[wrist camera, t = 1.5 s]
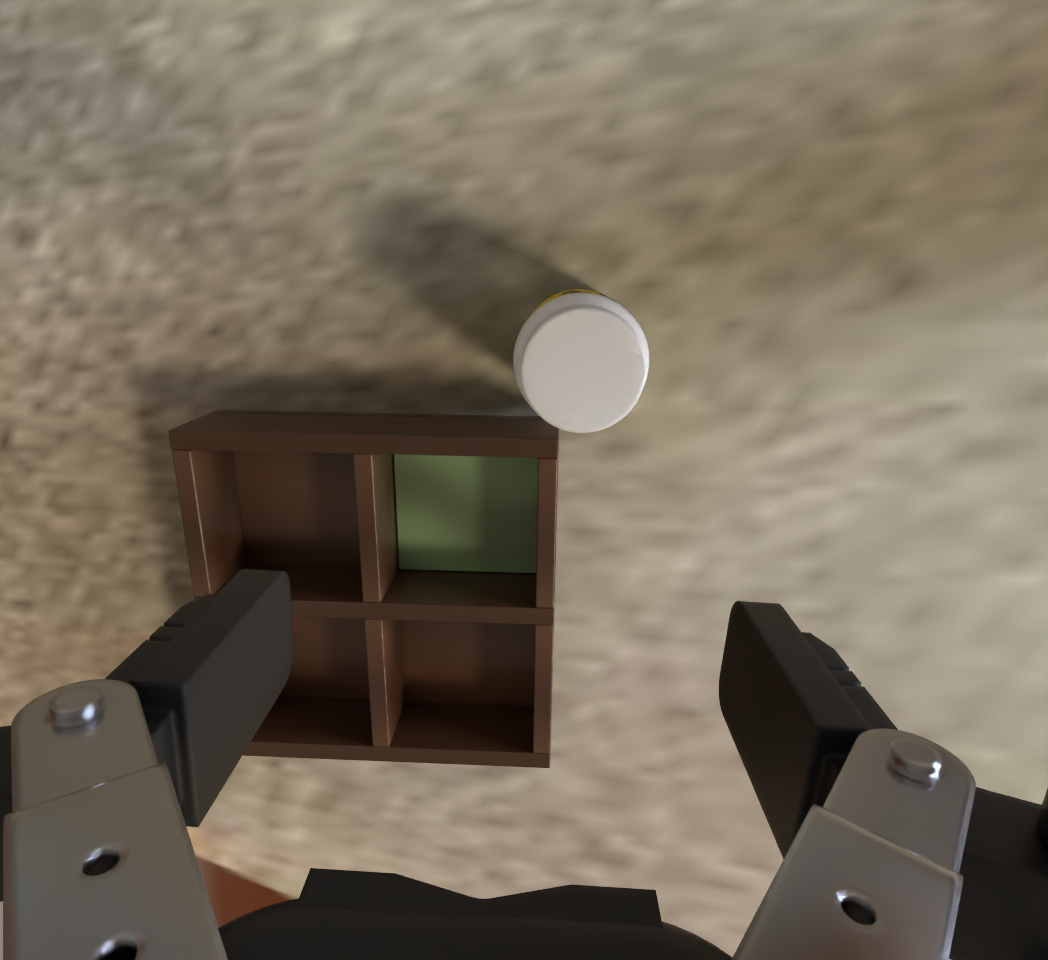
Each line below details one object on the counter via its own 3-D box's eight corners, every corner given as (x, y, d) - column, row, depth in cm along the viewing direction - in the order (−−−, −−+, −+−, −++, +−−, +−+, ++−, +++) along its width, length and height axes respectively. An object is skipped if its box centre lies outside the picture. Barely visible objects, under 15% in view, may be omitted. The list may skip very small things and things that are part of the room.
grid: (217, 409, 31) (167, 430, 27) (558, 416, 30) (558, 438, 26) (254, 701, 35) (217, 754, 32) (550, 712, 35) (549, 768, 31)
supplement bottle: (651, 317, 29) (688, 337, 21) (601, 416, 30) (618, 469, 22) (549, 268, 28) (546, 268, 20) (504, 370, 30) (484, 409, 22)
